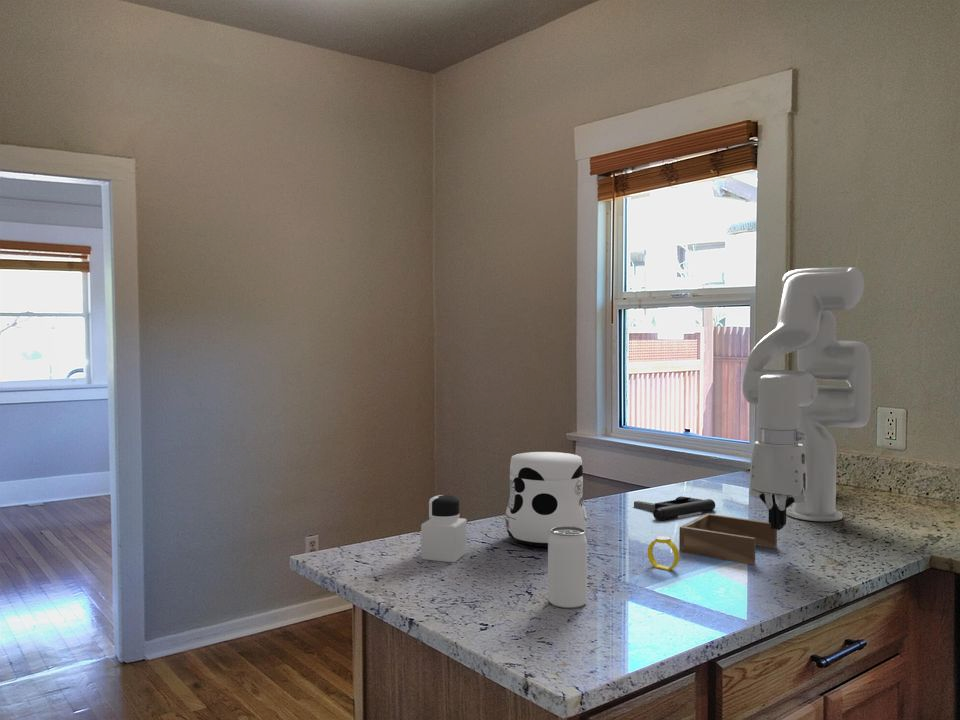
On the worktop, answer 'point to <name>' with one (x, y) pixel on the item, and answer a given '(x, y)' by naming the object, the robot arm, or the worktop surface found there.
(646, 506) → the door handle
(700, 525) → the box
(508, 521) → the milk container
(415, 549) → the worktop surface
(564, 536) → the can
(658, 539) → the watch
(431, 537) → the medicine bottle
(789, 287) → the robot arm
